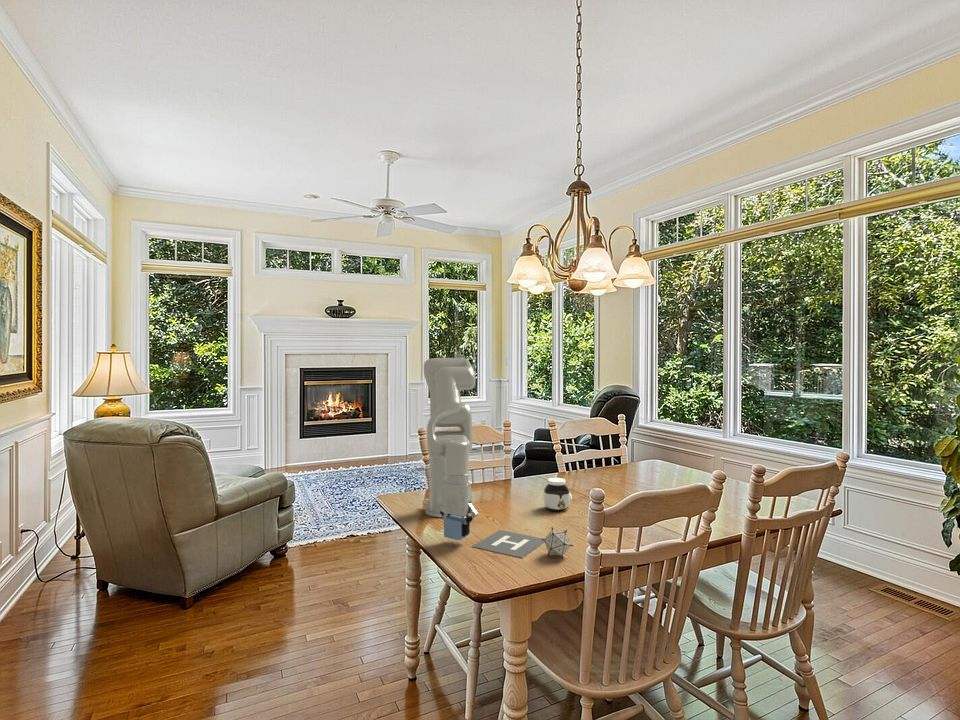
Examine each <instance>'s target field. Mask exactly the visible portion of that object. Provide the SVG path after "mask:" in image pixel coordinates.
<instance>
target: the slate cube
mask: <svg viewBox="0 0 960 720" xmlns="http://www.w3.org/2000/svg"><path fill="white" fill-rule="evenodd" d="M462 524H464V523H463V520H462V517H461V516H456V515H450V516H448V517H446V518H444V520H443V538H444V537H445V538H448V539H452V540H456V541H461V540H463V539H464V538H466V537H468V536H469V535H470V534H471V531H470V528H471V526H470V525H471V522H470V523H469V534H468V535H466V536H465V537H463V536H462Z"/></svg>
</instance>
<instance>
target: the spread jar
mask: <svg viewBox="0 0 960 720" xmlns="http://www.w3.org/2000/svg"><path fill="white" fill-rule="evenodd" d="M572 500H573V495H572V493H571V492H570V488H569V487H568V486H567V485H566V479H565V478H561V477H550V478H548V479H547V484H546V485H545V487H544V489H543V505H544V507H545V508H546V509H547V510H548V511H550V512H553V511H554V512H555V513H557V512H558V513H559V512H561V511H562V512H564V511H566V510H568V508H569V507H570V504H571V502H572ZM562 512H561V513H562Z"/></svg>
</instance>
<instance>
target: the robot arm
mask: <svg viewBox="0 0 960 720" xmlns="http://www.w3.org/2000/svg"><path fill="white" fill-rule="evenodd" d="M475 374H476V373H475V371H474V368H473V366H472V364H471V362H470V360H469V359H467V358H466V357H433V358H429V359H427V360H425V361H424V364H423V375H424V379H425V382H426V385H427V387H428V390H429V411H430V418H429V420H428V423H427V425H426V430H425V431H426V432H425V433H426V446H427V447H426V448H427V453H428V460H429V461H428V463H429V465H428V466H429V498H424V499H423V500H422V505H423V506H426V507H427V508H426V509H425V514H426V515H427V516H429V517H432V518H442V519H443V521H444V518H446V517H448V516H450V515H456V516H461V517H462V520H463V523H464V524H462V536H463V537H465V536H466V535H468V534H469V523H470V524H471V523H472V521H473V520H474V519H475V518H476V517H477V516H478V515H479V513H478V511H477V510H476V509H475V507H474V506H473V493H472V487H471V482H469V477H470V475H469V468H470V466H469V462H470V461H469V459H470V458H469V454H470V453H471V452H472V450H473V424H472V423H473V422H472V420H473V417H472V409H471V407H470V405H469V404H468V403H466V402H463V401H462V398H461V391H464V390H465V391H468V390H473V389H474V388H475V385H476V375H475ZM436 428H459V430H458V429H457V430H438V431H435V429H436ZM468 536H469V535H468ZM466 537H467V536H466ZM466 537H465V538H466Z"/></svg>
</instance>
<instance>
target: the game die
mask: <svg viewBox="0 0 960 720" xmlns="http://www.w3.org/2000/svg"><path fill="white" fill-rule="evenodd" d="M567 533H568V529H566V530H558V529H554V527H552V526H551V530H550V532H549V533H548V534H547V535H546V536H545V538H543V539H541V540H544V544H545V547H546V549H547V551H548V552H547V556H549V555H550V554H551V555H554V556H555V555H556V556H559V557H561V559H562V560H563V559H564V554H565V553H566V552H567V551H568V549H570V547H574V545H573V544H571V543H570V540H569V537H568V534H567Z"/></svg>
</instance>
